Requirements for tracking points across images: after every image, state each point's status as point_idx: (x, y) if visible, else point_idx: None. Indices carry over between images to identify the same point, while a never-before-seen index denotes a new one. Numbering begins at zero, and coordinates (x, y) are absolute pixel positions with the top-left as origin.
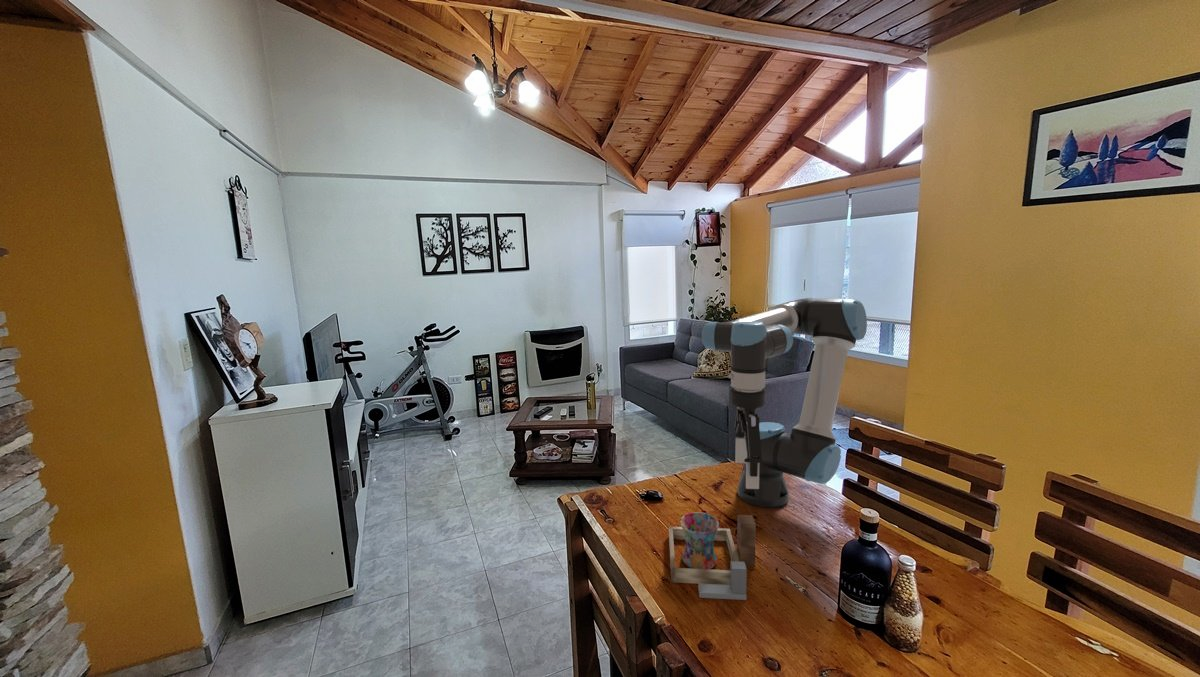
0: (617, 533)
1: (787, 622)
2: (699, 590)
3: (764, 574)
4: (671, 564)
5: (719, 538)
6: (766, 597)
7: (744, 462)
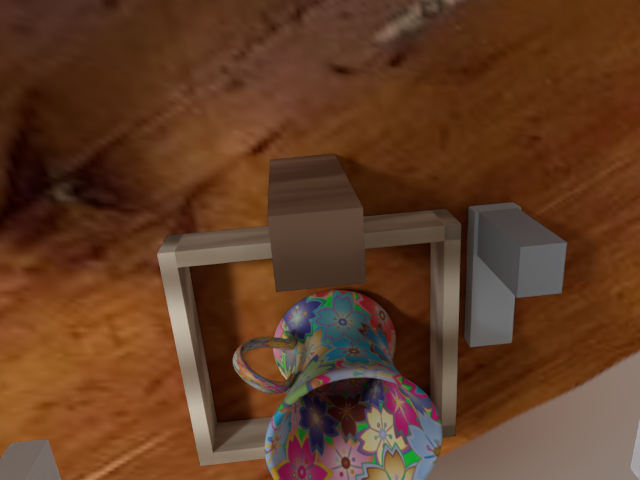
0: None
1: (611, 84)
2: (501, 343)
3: (377, 123)
4: None
5: (187, 277)
6: (499, 135)
7: (51, 467)
